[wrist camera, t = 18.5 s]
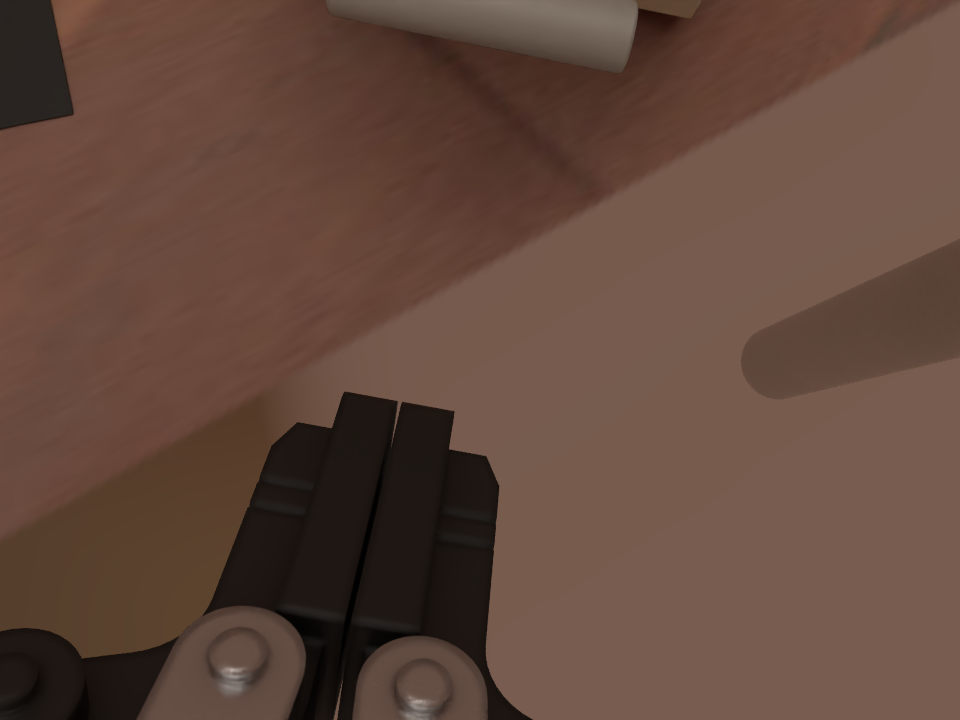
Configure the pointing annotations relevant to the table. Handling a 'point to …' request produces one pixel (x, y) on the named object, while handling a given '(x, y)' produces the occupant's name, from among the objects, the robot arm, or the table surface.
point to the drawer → (523, 24)
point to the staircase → (30, 64)
